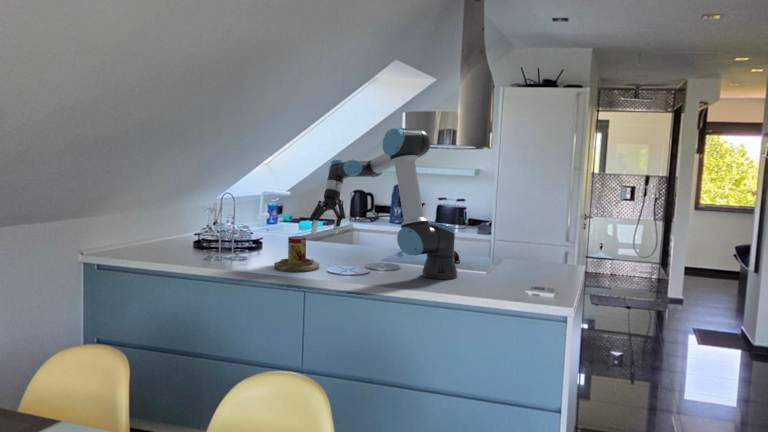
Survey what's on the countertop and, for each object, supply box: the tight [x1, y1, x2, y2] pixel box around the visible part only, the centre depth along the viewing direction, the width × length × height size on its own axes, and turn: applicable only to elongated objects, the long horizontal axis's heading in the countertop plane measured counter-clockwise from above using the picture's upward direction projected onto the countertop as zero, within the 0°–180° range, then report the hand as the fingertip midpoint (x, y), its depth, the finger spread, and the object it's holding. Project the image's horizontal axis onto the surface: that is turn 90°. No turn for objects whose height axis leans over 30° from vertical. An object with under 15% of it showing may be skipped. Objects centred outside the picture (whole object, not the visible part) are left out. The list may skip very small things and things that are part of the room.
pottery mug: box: [454, 249, 461, 264], centre depth 308 cm, size 12×10×8 cm
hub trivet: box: [273, 257, 320, 273], centre depth 282 cm, size 20×20×3 cm
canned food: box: [287, 235, 307, 263], centre depth 282 cm, size 8×8×12 cm
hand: (323, 233), depth 294 cm, fingers open, 13 cm apart
